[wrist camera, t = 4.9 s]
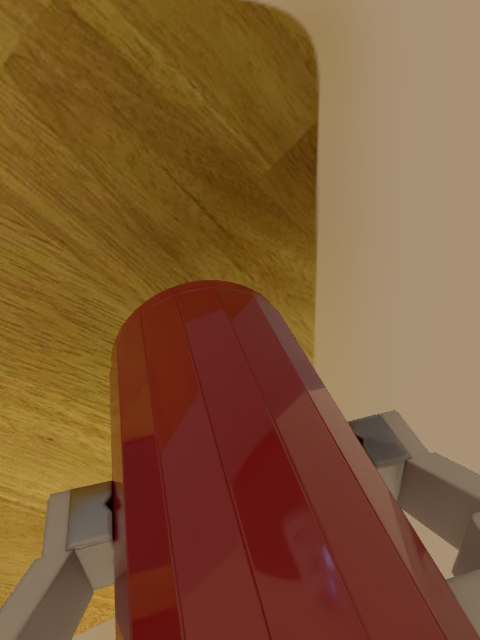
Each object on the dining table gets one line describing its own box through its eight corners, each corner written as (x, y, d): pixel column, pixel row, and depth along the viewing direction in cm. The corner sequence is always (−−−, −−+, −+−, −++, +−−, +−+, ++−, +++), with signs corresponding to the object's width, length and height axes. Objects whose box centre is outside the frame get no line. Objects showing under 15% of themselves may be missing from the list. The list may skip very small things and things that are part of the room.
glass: (90, 298, 14) (70, 812, 5) (285, 264, 15) (568, 630, 6) (130, 438, 17) (162, 889, 8) (286, 402, 18) (465, 765, 9)
